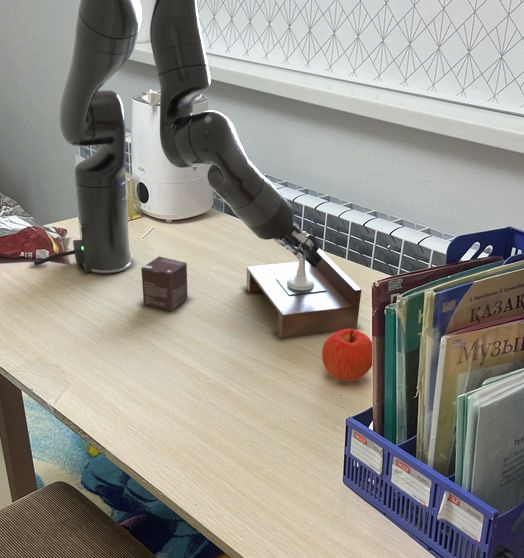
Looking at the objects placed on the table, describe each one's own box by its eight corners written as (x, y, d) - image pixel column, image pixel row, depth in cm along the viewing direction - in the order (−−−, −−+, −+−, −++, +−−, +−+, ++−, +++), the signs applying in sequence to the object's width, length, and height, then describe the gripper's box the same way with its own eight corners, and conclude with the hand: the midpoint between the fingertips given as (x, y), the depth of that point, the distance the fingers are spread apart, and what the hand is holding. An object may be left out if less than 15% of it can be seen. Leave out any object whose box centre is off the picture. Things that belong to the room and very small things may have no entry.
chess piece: (285, 278, 126) (288, 226, 121) (311, 278, 126) (316, 226, 121) (288, 290, 122) (291, 237, 117) (316, 290, 122) (320, 237, 117)
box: (188, 299, 128) (188, 262, 124) (171, 312, 123) (170, 274, 119) (160, 291, 130) (159, 255, 126) (142, 304, 125) (140, 267, 121)
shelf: (281, 338, 116) (283, 298, 113) (246, 288, 133) (247, 251, 129) (356, 328, 120) (361, 289, 117) (313, 280, 137) (316, 245, 133)
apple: (368, 361, 111) (374, 317, 107) (374, 389, 104) (381, 343, 100) (318, 359, 111) (322, 315, 107) (321, 387, 104) (326, 341, 100)
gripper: (302, 198, 106) (351, 255, 118) (246, 175, 115) (297, 230, 128) (273, 238, 105) (325, 291, 118) (220, 211, 115) (274, 263, 128)
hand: (310, 259), depth 123 cm, fingers closed
